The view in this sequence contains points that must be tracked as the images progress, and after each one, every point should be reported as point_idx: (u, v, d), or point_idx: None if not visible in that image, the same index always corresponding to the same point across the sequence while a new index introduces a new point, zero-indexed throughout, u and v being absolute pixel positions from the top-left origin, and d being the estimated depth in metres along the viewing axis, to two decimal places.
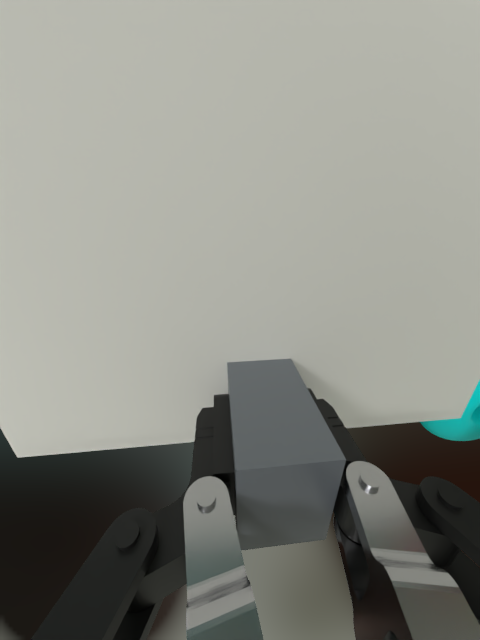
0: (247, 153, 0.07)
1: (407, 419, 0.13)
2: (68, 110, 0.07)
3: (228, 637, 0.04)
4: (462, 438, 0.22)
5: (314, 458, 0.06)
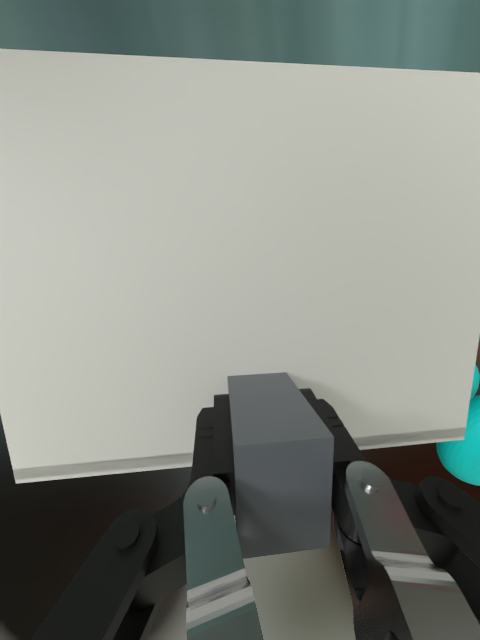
0: (240, 206, 0.10)
1: (409, 440, 0.13)
2: (116, 182, 0.10)
3: (228, 637, 0.04)
4: None
5: (305, 436, 0.07)
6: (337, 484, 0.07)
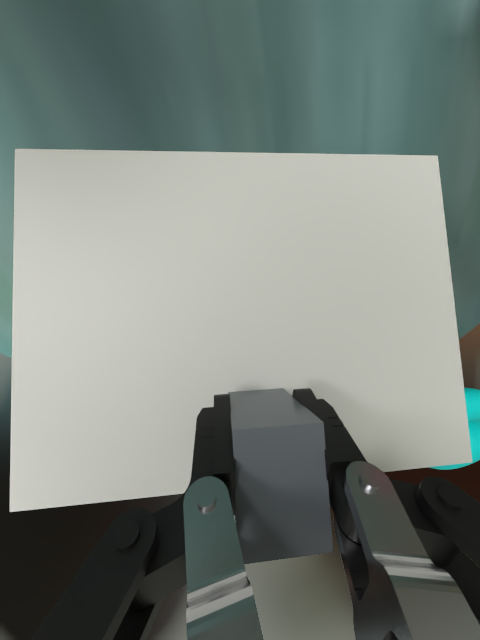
0: (236, 246, 0.13)
1: (415, 463, 0.13)
2: (140, 230, 0.12)
3: (228, 637, 0.04)
4: None
5: (297, 422, 0.08)
6: (337, 484, 0.07)
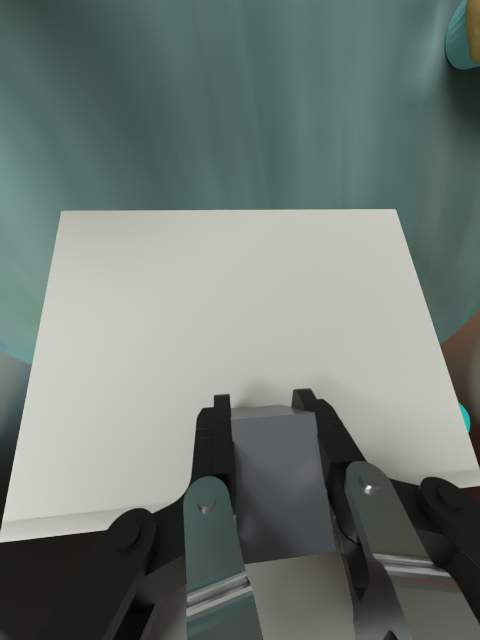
0: (235, 278, 0.15)
1: None
2: (154, 267, 0.15)
3: (228, 637, 0.04)
4: None
5: (291, 414, 0.08)
6: (337, 484, 0.07)
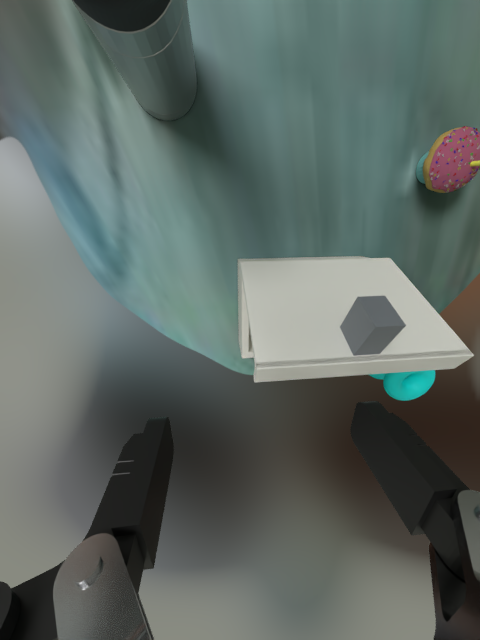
0: (325, 282, 0.33)
1: (444, 355, 0.25)
2: (287, 279, 0.33)
3: None
4: (382, 377, 0.53)
5: (376, 296, 0.24)
6: (441, 515, 0.06)
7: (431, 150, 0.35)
